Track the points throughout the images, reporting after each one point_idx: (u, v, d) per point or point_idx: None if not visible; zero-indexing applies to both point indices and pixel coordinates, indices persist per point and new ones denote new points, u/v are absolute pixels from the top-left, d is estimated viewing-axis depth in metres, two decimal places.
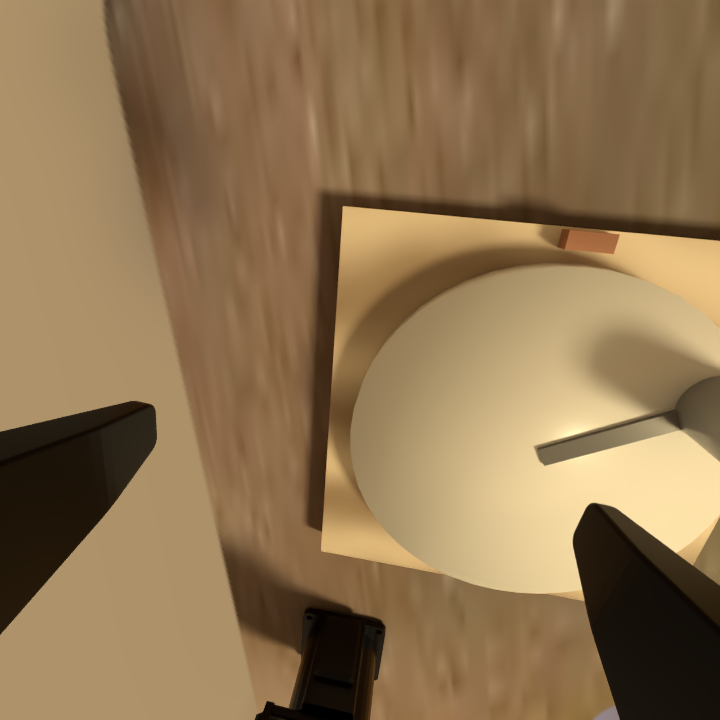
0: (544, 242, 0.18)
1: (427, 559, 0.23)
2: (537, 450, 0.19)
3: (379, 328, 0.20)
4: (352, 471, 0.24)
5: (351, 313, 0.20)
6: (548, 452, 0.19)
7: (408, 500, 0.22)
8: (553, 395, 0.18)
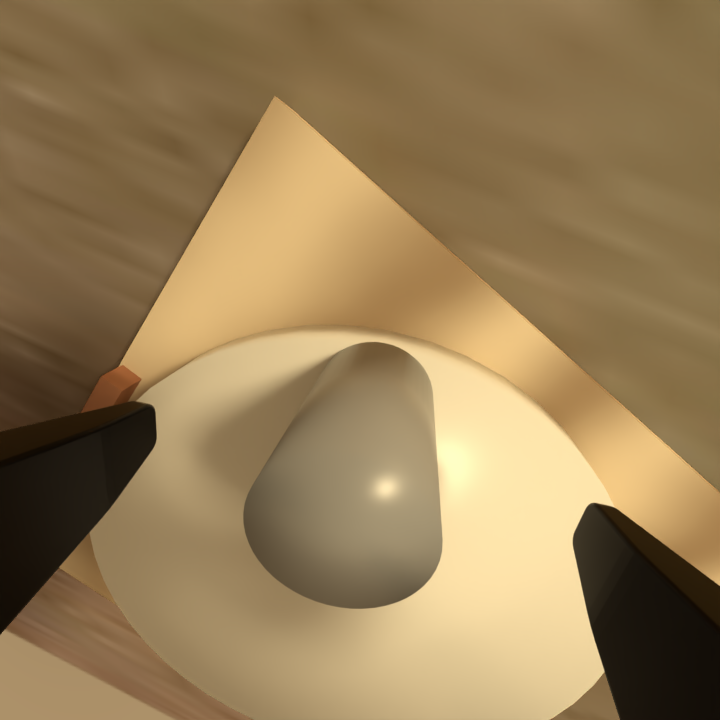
0: None
1: None
2: None
3: None
4: None
5: None
6: None
7: (326, 712, 0.16)
8: None
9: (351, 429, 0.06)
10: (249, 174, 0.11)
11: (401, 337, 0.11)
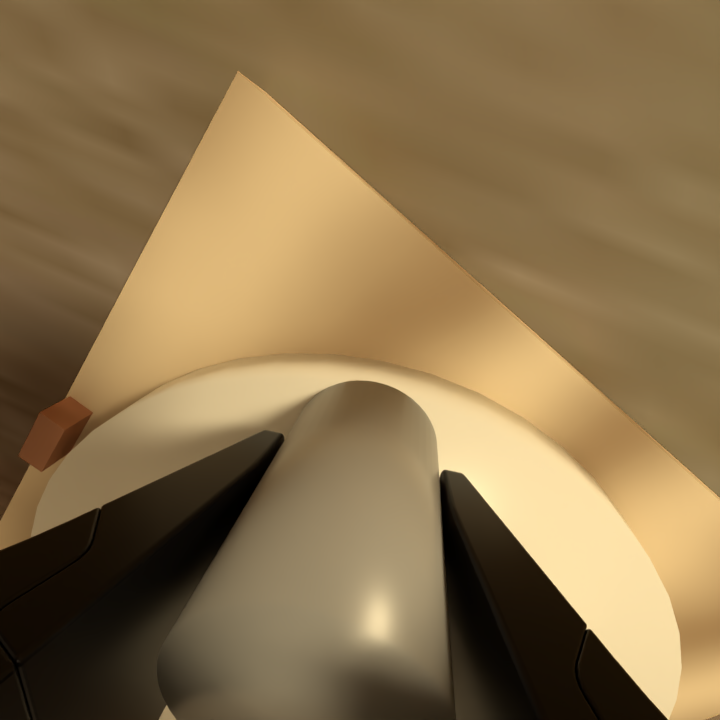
0: (59, 461, 0.13)
1: None
2: None
3: None
4: None
5: None
6: None
7: None
8: None
9: (317, 551, 0.04)
10: (209, 170, 0.09)
11: (398, 370, 0.09)
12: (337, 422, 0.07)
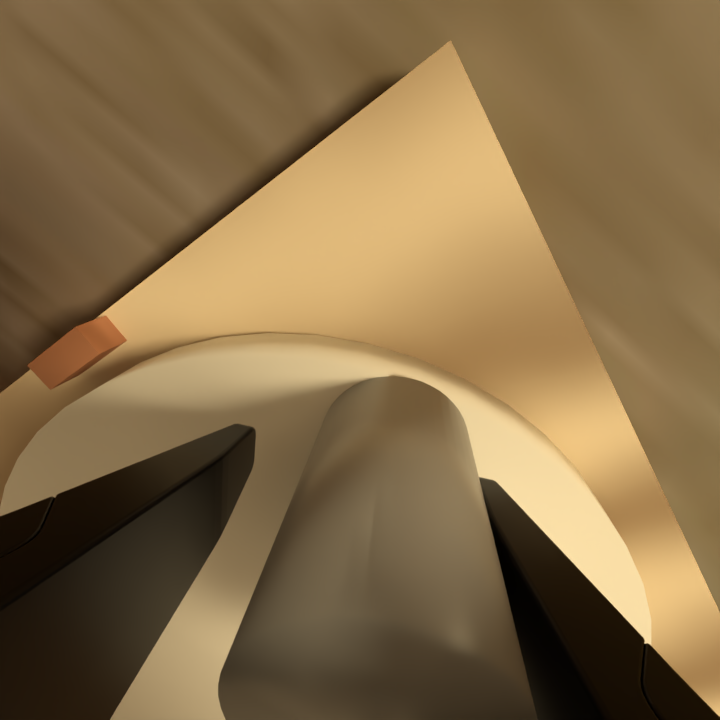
0: None
1: None
2: None
3: None
4: None
5: None
6: None
7: None
8: (212, 577, 0.11)
9: (415, 564, 0.04)
10: (373, 133, 0.08)
11: (435, 371, 0.09)
12: (394, 420, 0.06)
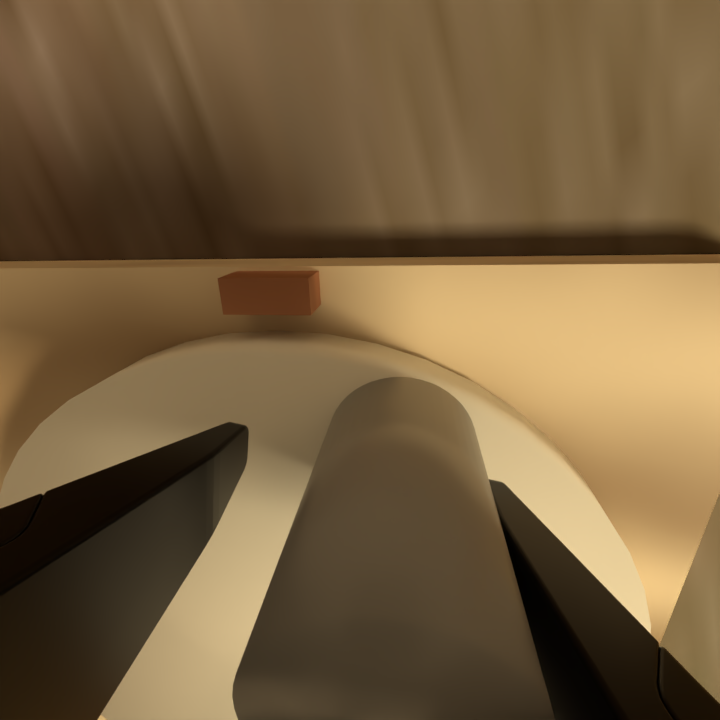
0: (217, 297, 0.10)
1: None
2: None
3: None
4: None
5: None
6: None
7: None
8: (212, 574, 0.11)
9: (436, 567, 0.04)
10: (694, 286, 0.08)
11: (443, 373, 0.09)
12: (406, 421, 0.06)
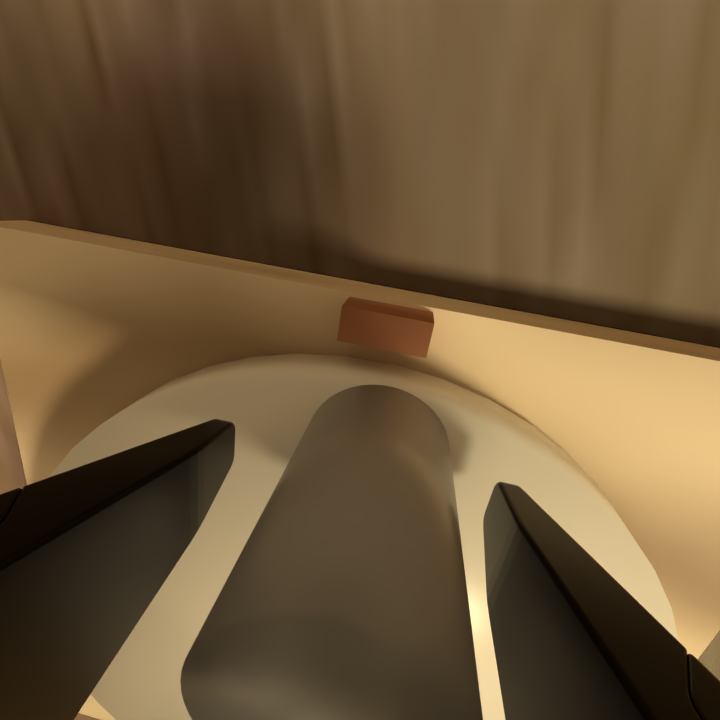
0: (322, 317, 0.10)
1: None
2: None
3: (81, 430, 0.12)
4: None
5: (32, 402, 0.12)
6: None
7: None
8: None
9: (349, 561, 0.04)
10: None
11: (411, 375, 0.09)
12: (356, 427, 0.07)
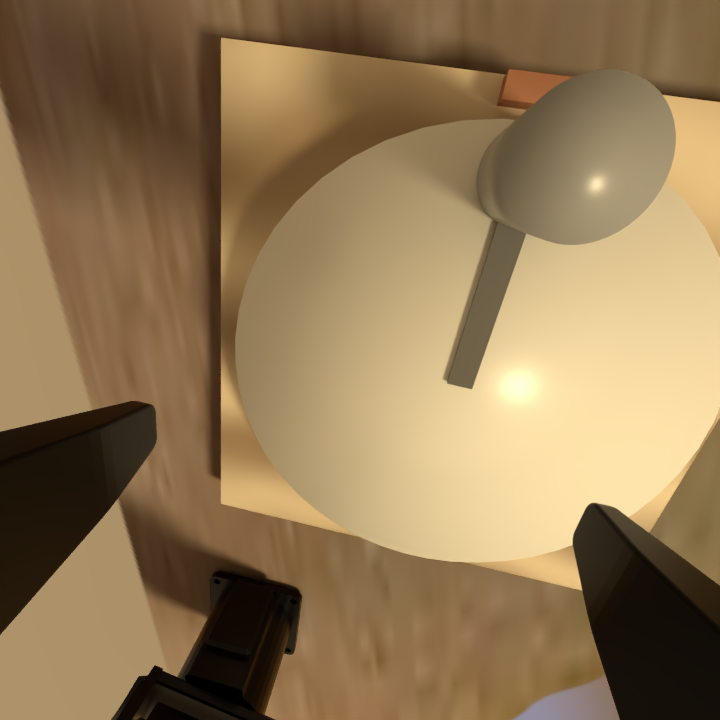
0: (480, 98, 0.13)
1: (513, 554, 0.19)
2: (449, 383, 0.16)
3: (274, 218, 0.16)
4: None
5: (239, 196, 0.16)
6: (457, 376, 0.15)
7: (426, 521, 0.19)
8: (392, 332, 0.15)
9: None
10: None
11: None
12: None
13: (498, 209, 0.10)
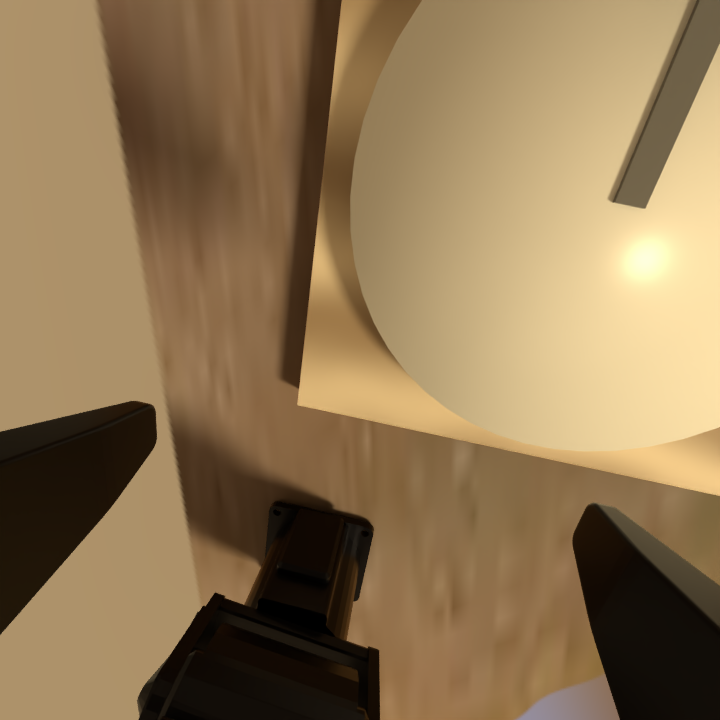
0: None
1: (660, 437, 0.16)
2: (616, 204, 0.13)
3: (406, 14, 0.14)
4: (348, 274, 0.17)
5: None
6: (629, 191, 0.13)
7: (558, 398, 0.16)
8: (553, 138, 0.13)
9: None
10: None
11: None
12: None
13: None
